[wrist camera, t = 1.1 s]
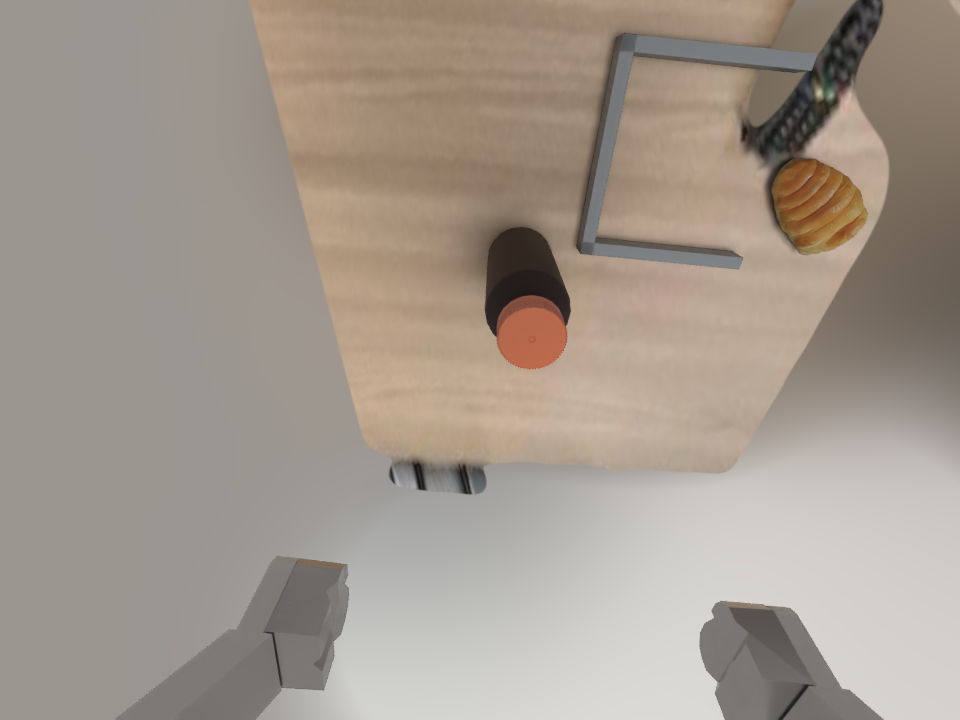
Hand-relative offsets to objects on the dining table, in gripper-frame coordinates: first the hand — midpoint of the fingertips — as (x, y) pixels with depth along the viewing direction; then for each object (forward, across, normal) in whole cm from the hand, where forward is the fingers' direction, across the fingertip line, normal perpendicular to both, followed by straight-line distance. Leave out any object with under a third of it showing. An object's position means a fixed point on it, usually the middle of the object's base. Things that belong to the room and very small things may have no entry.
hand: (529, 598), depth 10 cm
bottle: (+43, -2, +4) cm, 43 cm away
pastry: (+44, -29, -8) cm, 53 cm away
